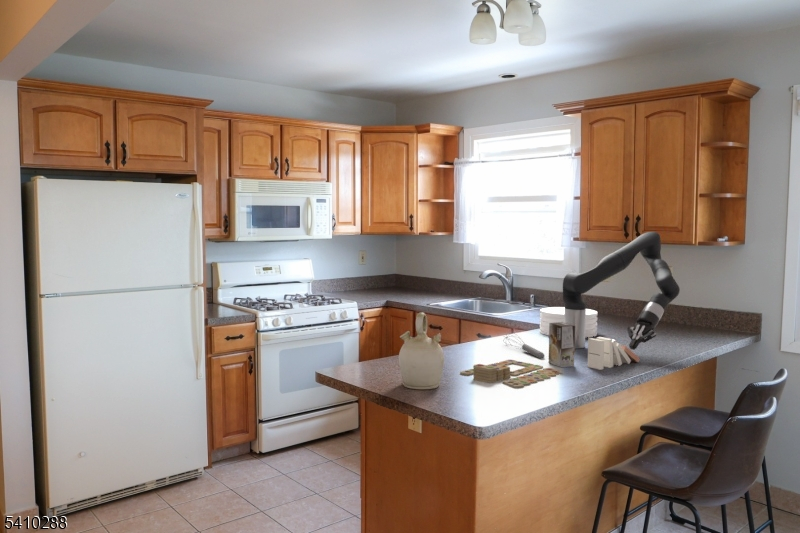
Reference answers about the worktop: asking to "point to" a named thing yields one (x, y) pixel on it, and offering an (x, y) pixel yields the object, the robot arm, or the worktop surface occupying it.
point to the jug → (421, 358)
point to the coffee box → (561, 344)
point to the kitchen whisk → (527, 348)
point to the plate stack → (558, 316)
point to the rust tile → (630, 354)
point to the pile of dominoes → (510, 373)
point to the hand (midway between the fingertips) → (631, 348)
